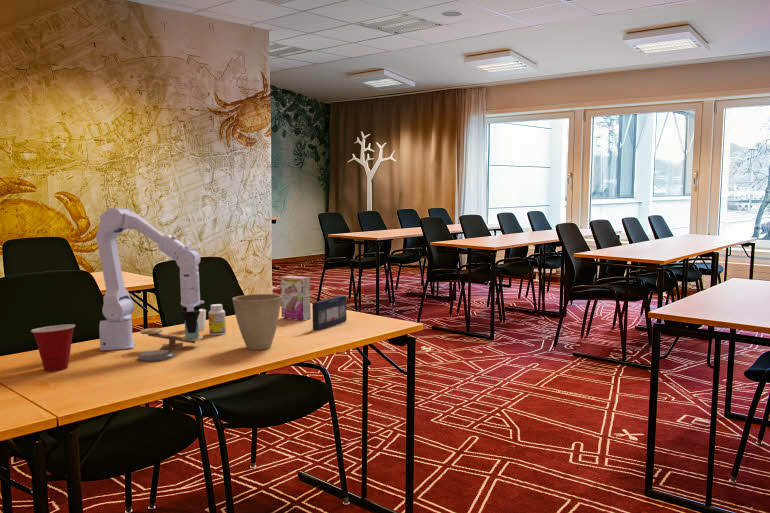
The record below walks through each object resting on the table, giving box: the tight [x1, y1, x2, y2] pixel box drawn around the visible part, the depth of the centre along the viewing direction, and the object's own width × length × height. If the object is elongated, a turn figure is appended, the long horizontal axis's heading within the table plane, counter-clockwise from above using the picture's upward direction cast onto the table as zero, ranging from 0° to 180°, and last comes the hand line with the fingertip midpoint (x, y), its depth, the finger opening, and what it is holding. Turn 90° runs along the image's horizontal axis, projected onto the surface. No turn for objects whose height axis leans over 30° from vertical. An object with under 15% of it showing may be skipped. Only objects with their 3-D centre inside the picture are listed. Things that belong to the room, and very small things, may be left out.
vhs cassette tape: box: [311, 295, 348, 331], centre depth 225 cm, size 18×3×10 cm, turn 148°
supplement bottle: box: [208, 303, 227, 336], centre depth 213 cm, size 6×6×10 cm
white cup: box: [197, 308, 207, 331], centre depth 222 cm, size 7×7×7 cm
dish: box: [137, 349, 175, 363], centre depth 181 cm, size 10×10×1 cm
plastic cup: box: [30, 323, 76, 372], centre depth 170 cm, size 11×11×12 cm
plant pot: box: [232, 293, 281, 351], centre depth 192 cm, size 15×15×16 cm
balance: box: [139, 327, 204, 351], centre depth 193 cm, size 18×6×6 cm, turn 106°
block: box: [184, 320, 200, 339], centre depth 194 cm, size 4×4×5 cm
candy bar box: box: [280, 275, 311, 321], centre depth 239 cm, size 11×5×16 cm, turn 58°
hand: (192, 330), depth 194 cm, fingers open, 7 cm apart
